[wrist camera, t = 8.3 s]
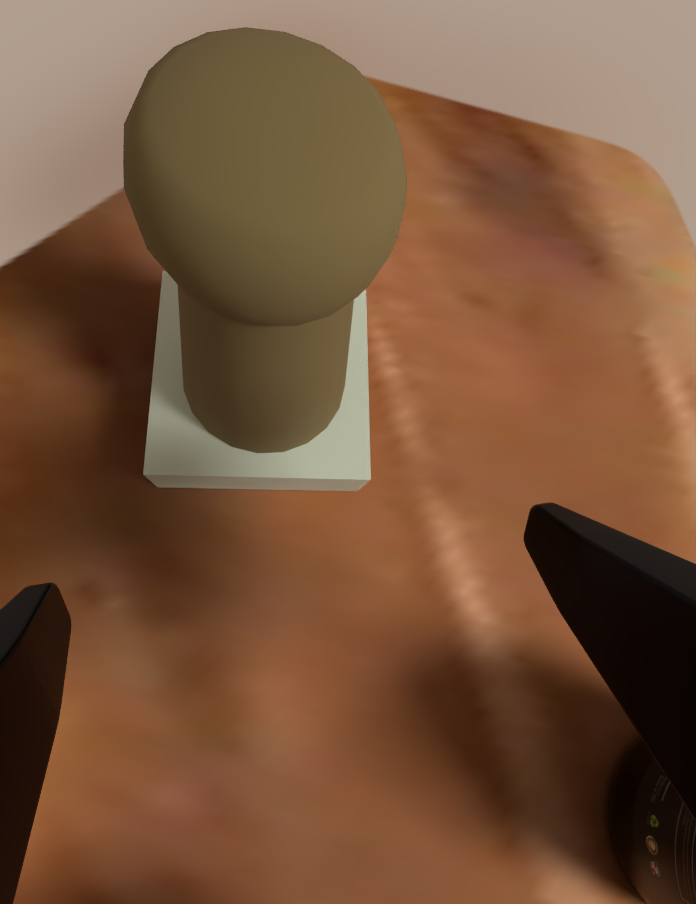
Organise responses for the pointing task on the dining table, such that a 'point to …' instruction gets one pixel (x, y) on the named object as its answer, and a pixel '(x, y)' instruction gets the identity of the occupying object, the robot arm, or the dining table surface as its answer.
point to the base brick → (224, 467)
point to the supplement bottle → (653, 830)
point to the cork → (264, 221)
